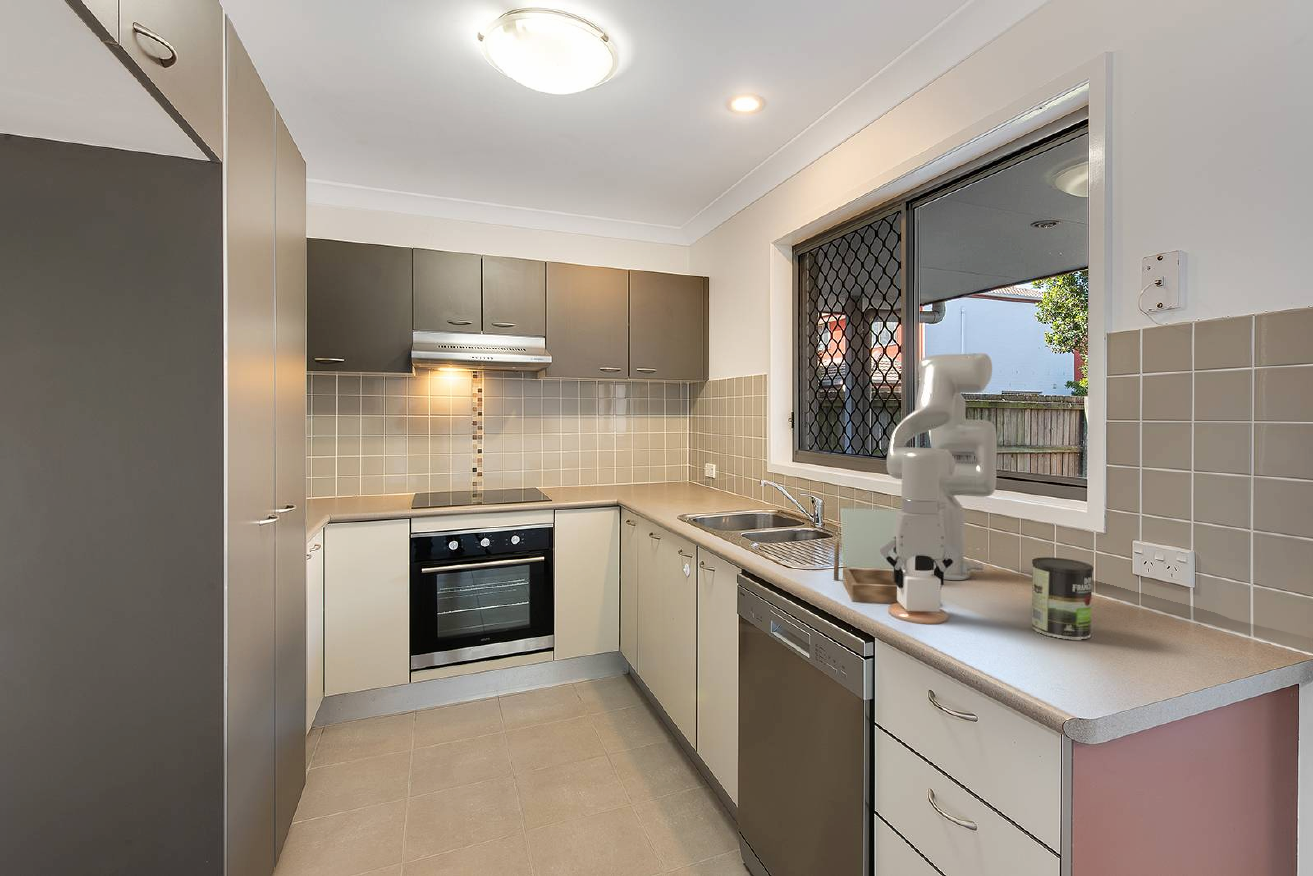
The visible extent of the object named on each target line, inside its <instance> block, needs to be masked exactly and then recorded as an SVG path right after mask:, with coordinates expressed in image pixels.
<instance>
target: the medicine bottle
mask: <svg viewBox="0 0 1313 876" xmlns="http://www.w3.org/2000/svg"><path fill="white" fill-rule="evenodd" d="M902 571H903V587H902V588H899V587H898V586H897V601H898V602H899V603H900V604H901V605H902V606H903V607H904V608H905V609H906V611H928V612H939V611H940V609H941V591H942V585H941V580H940V579H939V578H938V577H936V576H935V575H934V574H933V573H934V560H933V559H932V558H931V557H928V556H923V555H918V556H913V557H911V558H910V559H906V560H905V562H904V570H902Z"/></svg>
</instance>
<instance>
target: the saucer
mask: <svg viewBox="0 0 1313 876" xmlns="http://www.w3.org/2000/svg"><path fill="white" fill-rule="evenodd" d="M888 614H889V615H890V614H891V615H890V616H891V617H894V618H895V619H898V620H900V619H901V620H900V621H904V622H908V623H912V624H913V623H914V624H920V623H921V624H920V625H937V624H938V623H939V624H942V623H945V622H947V621H948V618H949V614H948V612H947V611H946V610H944V609H942V608H940V611H939V612H928V611H906V609H905V608H904V607H903V606H902V605H901V604H900V603H891V604H890V605H889V606H888ZM939 624H938V625H939Z"/></svg>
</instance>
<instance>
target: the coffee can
mask: <svg viewBox="0 0 1313 876" xmlns="http://www.w3.org/2000/svg"><path fill="white" fill-rule="evenodd" d="M1031 564H1032V575H1031V576H1032V578H1031V580H1032V582H1031V584H1032V585H1031V593H1032V594H1031V610H1030V611H1031V618H1030V619H1031V620H1030V623H1031V624H1030V628H1031V627H1032V628H1031V629H1032V630H1033V629H1034V630H1035V632H1036V633H1038V632H1039V633H1038V634H1040V633H1042V634H1041V635H1043V634H1044V636H1046V635H1047V636H1046V637H1050V636H1053V637H1052V638H1054V637H1057V638H1056V639H1058V638H1063V639H1062V640H1065V639H1069V640H1068V641H1082V640H1081V639H1086V638H1088V637H1089V636H1091V625H1092V624H1091V622H1092V620H1091V619H1092V599H1093V598H1092V596H1093V595H1092V593H1093V573H1094V572H1093V571H1094V566H1093V565H1091V564H1090V563H1087V562H1083V561H1079V560H1075V559H1069V558H1061V557H1060V558H1059V557H1051V556H1049V557H1048V556H1047V557H1034V558H1033V559H1032V560H1031ZM1034 630H1033V631H1034ZM1070 639H1071V640H1070Z"/></svg>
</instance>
